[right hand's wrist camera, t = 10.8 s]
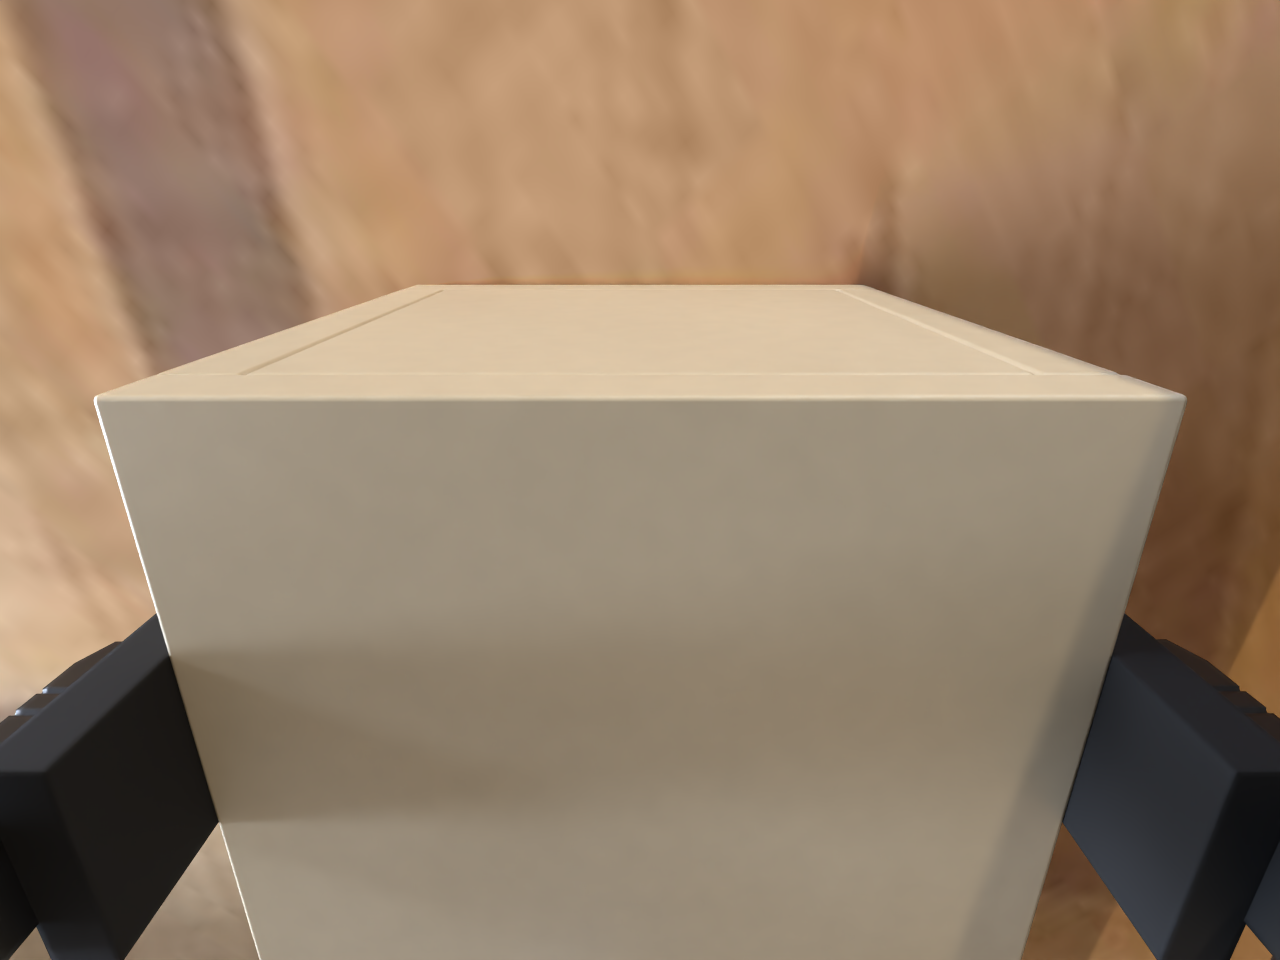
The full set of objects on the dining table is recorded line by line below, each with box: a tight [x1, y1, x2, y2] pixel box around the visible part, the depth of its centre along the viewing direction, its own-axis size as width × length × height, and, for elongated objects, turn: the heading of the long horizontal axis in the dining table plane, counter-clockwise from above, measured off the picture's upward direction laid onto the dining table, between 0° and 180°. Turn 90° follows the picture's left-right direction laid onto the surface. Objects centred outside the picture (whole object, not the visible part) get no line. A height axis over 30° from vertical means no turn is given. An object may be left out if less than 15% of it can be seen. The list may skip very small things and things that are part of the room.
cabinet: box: [94, 285, 1187, 960], centre depth 16 cm, size 20×11×11 cm, turn 0°
